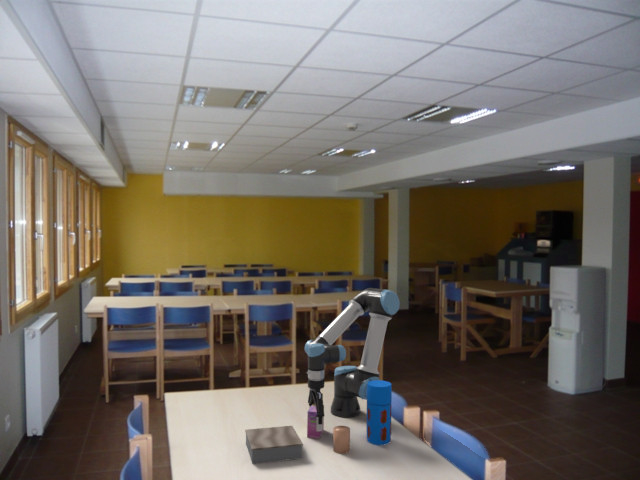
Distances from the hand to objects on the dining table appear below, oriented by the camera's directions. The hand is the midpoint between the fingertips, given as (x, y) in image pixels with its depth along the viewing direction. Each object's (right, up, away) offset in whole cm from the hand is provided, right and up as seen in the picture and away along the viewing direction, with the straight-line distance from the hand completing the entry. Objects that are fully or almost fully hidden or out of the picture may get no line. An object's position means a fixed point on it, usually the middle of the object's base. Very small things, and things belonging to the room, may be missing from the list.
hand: (315, 425), depth 237 cm
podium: (-18, -4, -19) cm, 26 cm away
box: (0, -4, 0) cm, 4 cm away
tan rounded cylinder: (+11, -4, -18) cm, 21 cm away
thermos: (+28, -4, -7) cm, 29 cm away
